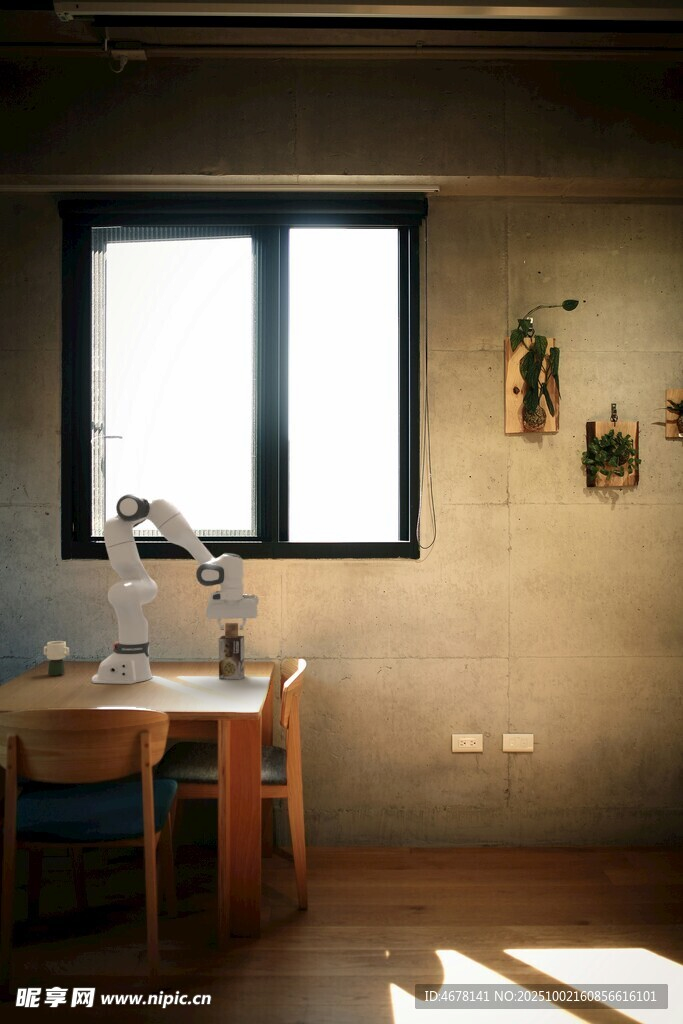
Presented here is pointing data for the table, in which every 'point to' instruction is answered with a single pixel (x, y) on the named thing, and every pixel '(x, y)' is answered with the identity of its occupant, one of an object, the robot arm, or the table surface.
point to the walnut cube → (231, 630)
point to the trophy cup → (56, 656)
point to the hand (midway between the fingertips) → (231, 629)
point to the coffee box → (231, 657)
